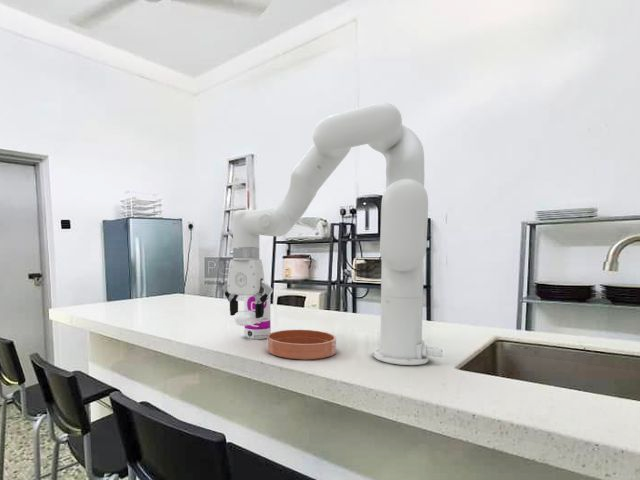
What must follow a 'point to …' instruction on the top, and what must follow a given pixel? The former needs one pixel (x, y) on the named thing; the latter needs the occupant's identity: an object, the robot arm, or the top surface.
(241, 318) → the garlic
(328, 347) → the bowl
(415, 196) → the robot arm
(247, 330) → the supplement can
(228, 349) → the top surface
